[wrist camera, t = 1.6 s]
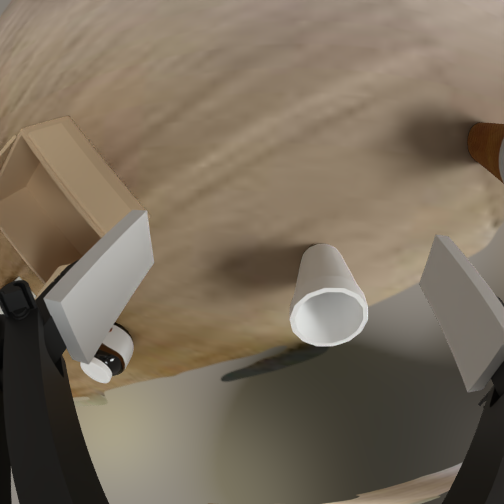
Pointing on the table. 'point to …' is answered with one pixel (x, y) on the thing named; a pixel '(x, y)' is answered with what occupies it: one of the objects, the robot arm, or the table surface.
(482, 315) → the robot arm
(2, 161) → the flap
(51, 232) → the carton
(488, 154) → the disposable coffee cup
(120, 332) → the spread jar
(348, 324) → the foam cup
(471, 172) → the table surface
